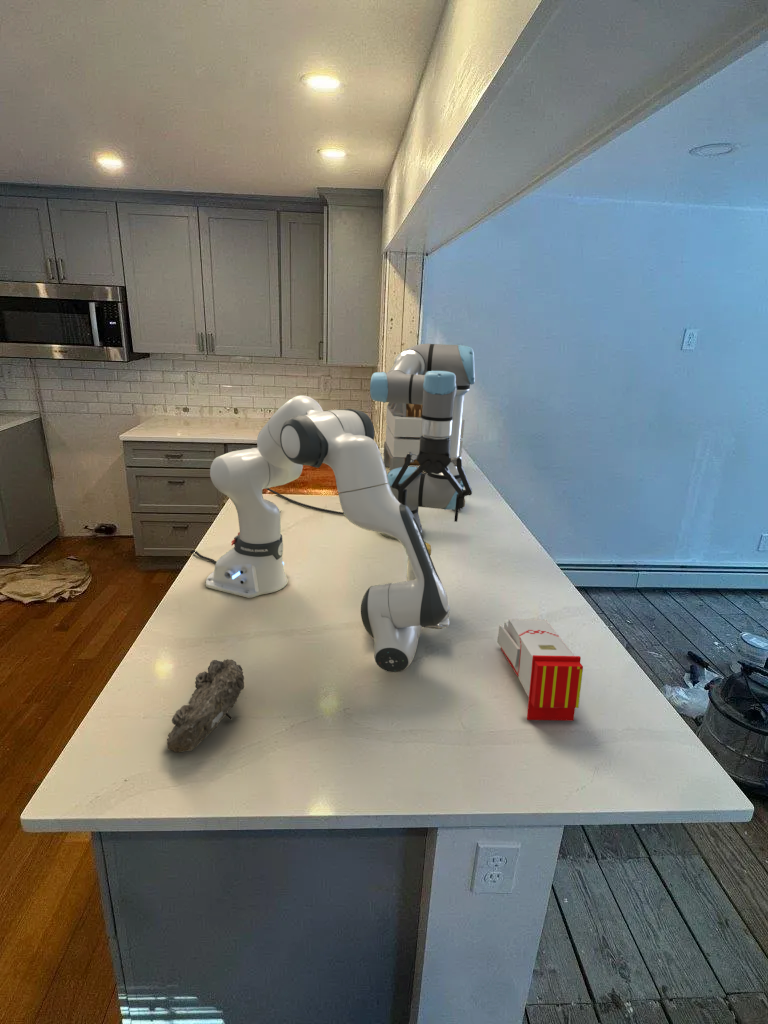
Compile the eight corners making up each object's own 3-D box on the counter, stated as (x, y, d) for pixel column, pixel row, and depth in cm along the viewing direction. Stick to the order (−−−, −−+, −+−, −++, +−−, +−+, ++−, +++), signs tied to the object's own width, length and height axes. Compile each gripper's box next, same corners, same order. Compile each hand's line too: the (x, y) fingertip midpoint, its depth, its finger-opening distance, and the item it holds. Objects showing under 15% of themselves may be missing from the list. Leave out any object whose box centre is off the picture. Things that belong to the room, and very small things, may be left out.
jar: (415, 596, 157) (419, 541, 152) (429, 604, 153) (434, 548, 148) (400, 601, 154) (404, 546, 148) (414, 610, 150) (418, 553, 144)
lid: (419, 547, 153) (419, 539, 152) (435, 555, 148) (436, 547, 147) (401, 552, 149) (402, 544, 148) (418, 560, 144) (418, 552, 144)
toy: (543, 604, 136) (592, 662, 106) (538, 656, 138) (584, 727, 109) (493, 603, 135) (528, 661, 106) (489, 655, 138) (522, 726, 109)
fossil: (192, 660, 117) (244, 628, 112) (224, 691, 120) (276, 661, 115) (142, 746, 98) (202, 712, 93) (182, 779, 101) (242, 748, 96)
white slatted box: (382, 463, 289) (386, 382, 275) (445, 464, 293) (451, 384, 279) (390, 482, 257) (394, 392, 243) (460, 483, 261) (468, 394, 247)
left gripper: (449, 617, 129) (454, 589, 142) (361, 604, 132) (374, 579, 145) (447, 640, 131) (451, 611, 144) (361, 628, 135) (373, 600, 147)
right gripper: (486, 437, 141) (478, 517, 148) (387, 429, 144) (384, 508, 151) (487, 443, 134) (478, 527, 141) (383, 435, 137) (379, 517, 144)
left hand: (412, 595), depth 145 cm, fingers open, 8 cm apart
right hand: (429, 517), depth 146 cm, fingers open, 13 cm apart
